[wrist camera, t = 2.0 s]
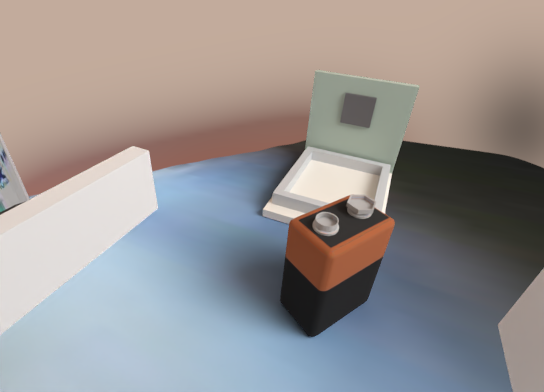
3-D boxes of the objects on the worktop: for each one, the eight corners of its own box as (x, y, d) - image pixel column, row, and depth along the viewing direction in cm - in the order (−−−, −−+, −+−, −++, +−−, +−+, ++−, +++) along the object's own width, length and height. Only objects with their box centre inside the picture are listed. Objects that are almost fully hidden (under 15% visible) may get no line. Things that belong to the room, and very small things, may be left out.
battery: (369, 301, 27) (403, 209, 22) (311, 342, 24) (333, 246, 18) (333, 269, 30) (355, 181, 25) (277, 301, 27) (287, 207, 21)
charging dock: (376, 250, 33) (416, 134, 25) (262, 216, 36) (268, 105, 29) (390, 176, 46) (419, 85, 39) (305, 156, 50) (317, 69, 42)
